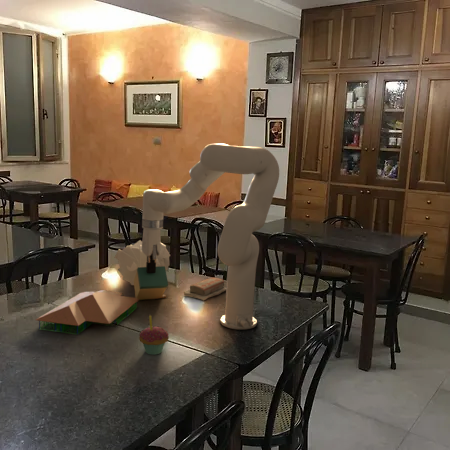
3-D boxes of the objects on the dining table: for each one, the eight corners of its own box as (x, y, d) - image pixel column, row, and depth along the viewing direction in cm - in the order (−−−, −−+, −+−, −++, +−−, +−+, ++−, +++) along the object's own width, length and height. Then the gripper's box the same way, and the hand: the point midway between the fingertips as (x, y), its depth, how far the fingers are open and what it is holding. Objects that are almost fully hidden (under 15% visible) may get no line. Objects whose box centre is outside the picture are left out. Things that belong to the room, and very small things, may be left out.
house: (142, 305, 185) (142, 284, 184) (103, 338, 153) (103, 313, 152) (84, 298, 190) (84, 277, 188) (35, 329, 158) (34, 304, 156)
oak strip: (165, 298, 195) (166, 296, 195) (129, 300, 190) (129, 298, 190) (164, 296, 197) (164, 294, 197) (128, 298, 192) (128, 297, 192)
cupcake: (155, 360, 141) (156, 319, 139) (132, 352, 145) (133, 312, 143) (174, 350, 148) (175, 311, 146) (151, 342, 152) (152, 304, 150)
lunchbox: (168, 285, 185) (165, 266, 189) (140, 286, 182) (137, 267, 186) (162, 298, 194) (159, 279, 198) (135, 299, 190) (133, 281, 194)
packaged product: (209, 275, 213) (229, 279, 208) (208, 286, 214) (228, 290, 208) (183, 284, 198) (204, 289, 193) (183, 295, 198) (203, 301, 193)
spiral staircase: (162, 283, 228) (140, 296, 204) (131, 263, 231) (105, 273, 207) (181, 249, 224) (160, 258, 200) (148, 229, 227) (124, 235, 203)
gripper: (138, 220, 188) (136, 267, 191) (146, 227, 174) (145, 278, 177) (157, 220, 190) (156, 266, 194) (168, 227, 177) (165, 277, 180)
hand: (150, 272), depth 185 cm, fingers closed
